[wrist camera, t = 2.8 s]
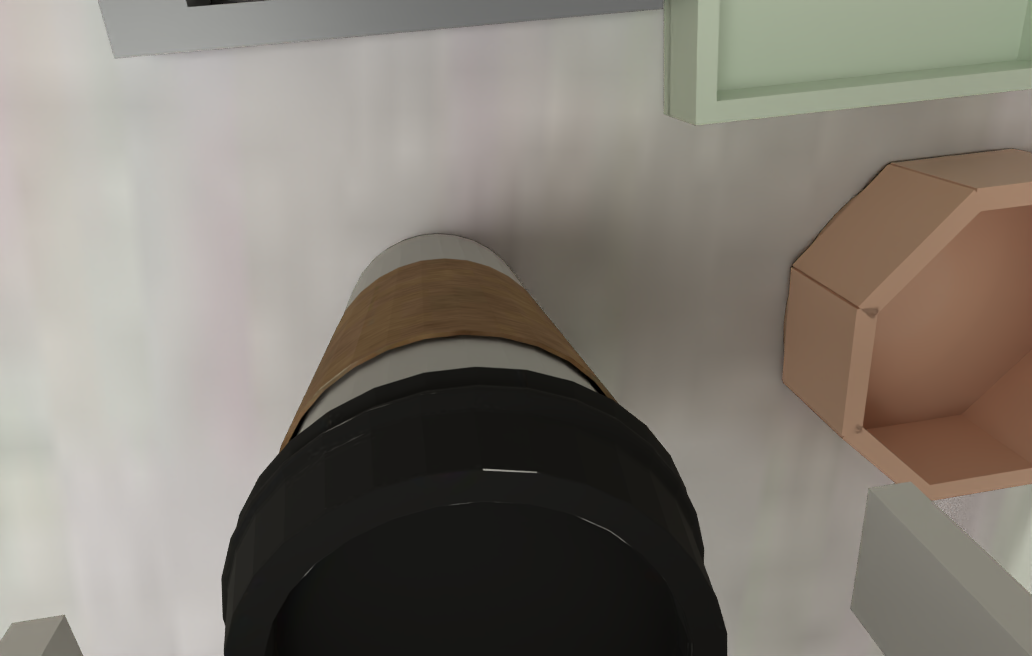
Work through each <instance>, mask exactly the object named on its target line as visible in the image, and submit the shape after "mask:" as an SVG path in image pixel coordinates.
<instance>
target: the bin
mask: <svg viewBox="0 0 1032 656" xmlns="http://www.w3.org/2000/svg"><path fill="white" fill-rule="evenodd" d="M792 266H794V267H792V268H791V275H790V287H789V297H788V300H787V304H786V310H785V317H784V347H785V351H784V364H783V376H782V381H783V383H784V384H785V385H786V386H787V387H788V388H789V389H790V390H791V391H793V392H794V393H795V394H796V395H797V396H798V397H799V398H800V399H801V400H802V401H803V402H804V403H805V404H806V405H807V406H808V407H809V408H810V409H812V410H813V411H814V412H815V413H816V414H817V415H818V416H819V417H820V418H821V419H822V420H823V421H824V422H825V423H826V424H827V425H828V426H829V427H831V428H832V429H833V430H834V431H835V432H836V433H837V434H838V435H839V436H840V437H841V438H842V439H843V440H845V441H846V442H847V443H848V444H849V445H850V446H852V447H853V448H854V449H855V450H856V451H858V452H859V453H860V454H861V455H862V456H864V457H865V458H866V459H867V460H868V461H870V462H871V463H872V464H873V465H874V466H876V467H877V468H878V469H879V470H880V471H882V472H883V473H884V474H885V475H886V476H888V477H889V478H890V479H891V480H892V481H894V482H895V483H896V484H898V483H905V482H912V483H913V484H914V485H915V486H916V487H917V488H918V489H919V490H920V491H921V492H923V493H924V494H925V495H926V496H927V497H928V498H929V499H930V500H931V501H933V500H939V499H945V498H950V497H956V496H962V495H968V494H974V493H980V492H986V491H991V490H997V489H1003V488H1009V487H1015V486H1021V485H1027V484H1032V153H1031V152H1026V151H1021V150H1017V149H1006V150H997V151H989V152H980V153H972V154H963V155H951V156H942V157H937V158H929V159H921V160H912V161H904V162H895V163H891V165H889V164H888V165H887V166H886V167H885V168H884V169H883V170H882V171H881V172H880V173H879V175H878V176H877V177H876V178H875V179H874V180H873V181H872V182H871V183H870V184H869V185H868V186H867V187H866V188H865V189H864V190H863V191H862V192H860V193H859V194H858V195H856V196H855V197H854V198H852V199H851V200H850V201H849V202H848V203H847V204H846V205H845V206H844V207H843V208H842V209H841V210H840V211H839V212H837V213H836V214H835V216H834V217H833V218H832V219H831V220H830V221H829V222H828V224H827V225H826V226H825V227H824V228H823V229H822V231H821V232H820V233H819V235H818V236H817V238H816V239H815V241H814V242H813V244H812V245H811V246H810V247H809V248H808V249H807V250H806V251H805V252H804V253H803V254H802V255H801V256H800V257H799V258H798V259H797V260H796V262H795V263H794V264H793V265H792Z"/></svg>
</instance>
